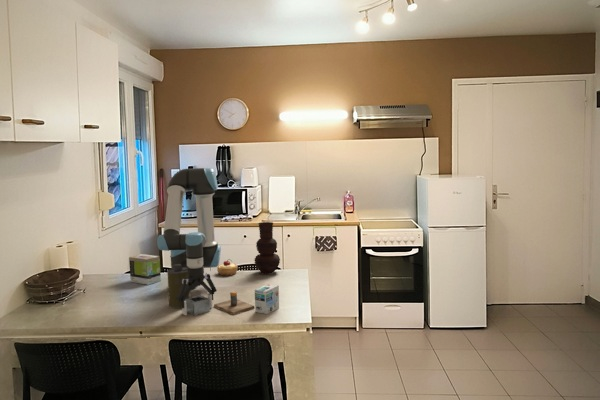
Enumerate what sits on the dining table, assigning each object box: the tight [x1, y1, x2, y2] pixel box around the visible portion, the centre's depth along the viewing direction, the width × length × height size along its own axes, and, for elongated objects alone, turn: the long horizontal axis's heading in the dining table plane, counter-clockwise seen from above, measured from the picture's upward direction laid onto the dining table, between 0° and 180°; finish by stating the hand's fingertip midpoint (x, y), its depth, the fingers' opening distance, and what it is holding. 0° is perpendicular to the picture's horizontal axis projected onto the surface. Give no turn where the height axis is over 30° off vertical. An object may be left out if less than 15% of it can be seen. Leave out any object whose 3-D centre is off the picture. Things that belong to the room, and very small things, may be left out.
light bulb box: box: [254, 283, 280, 315], centre depth 234 cm, size 11×7×11 cm, turn 148°
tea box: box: [128, 253, 162, 286], centre depth 287 cm, size 15×10×15 cm
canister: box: [166, 264, 191, 309], centre depth 244 cm, size 11×10×20 cm
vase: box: [253, 221, 281, 275], centre depth 298 cm, size 15×15×30 cm
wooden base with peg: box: [213, 291, 255, 315], centre depth 238 cm, size 16×12×7 cm
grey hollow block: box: [185, 294, 211, 316], centre depth 234 cm, size 8×8×6 cm
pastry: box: [216, 258, 239, 276], centre depth 300 cm, size 12×12×9 cm
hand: (197, 310), depth 235 cm, fingers open, 13 cm apart
